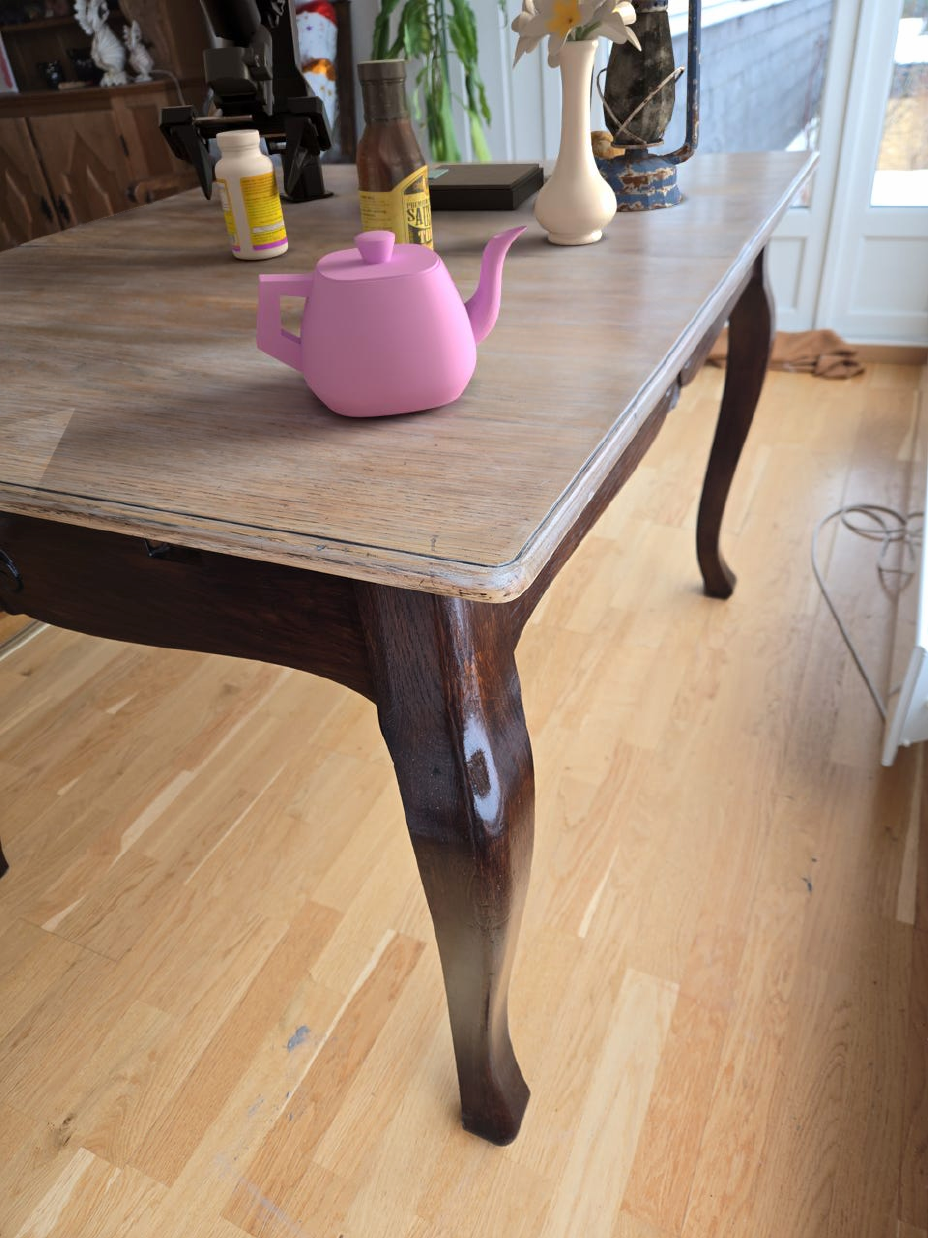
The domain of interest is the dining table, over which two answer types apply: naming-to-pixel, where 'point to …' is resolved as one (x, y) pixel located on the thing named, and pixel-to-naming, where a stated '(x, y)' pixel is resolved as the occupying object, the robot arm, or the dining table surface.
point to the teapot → (383, 324)
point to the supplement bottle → (249, 197)
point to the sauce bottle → (391, 158)
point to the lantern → (648, 108)
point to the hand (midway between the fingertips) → (246, 194)
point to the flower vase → (574, 110)
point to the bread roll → (604, 145)
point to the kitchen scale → (483, 186)
